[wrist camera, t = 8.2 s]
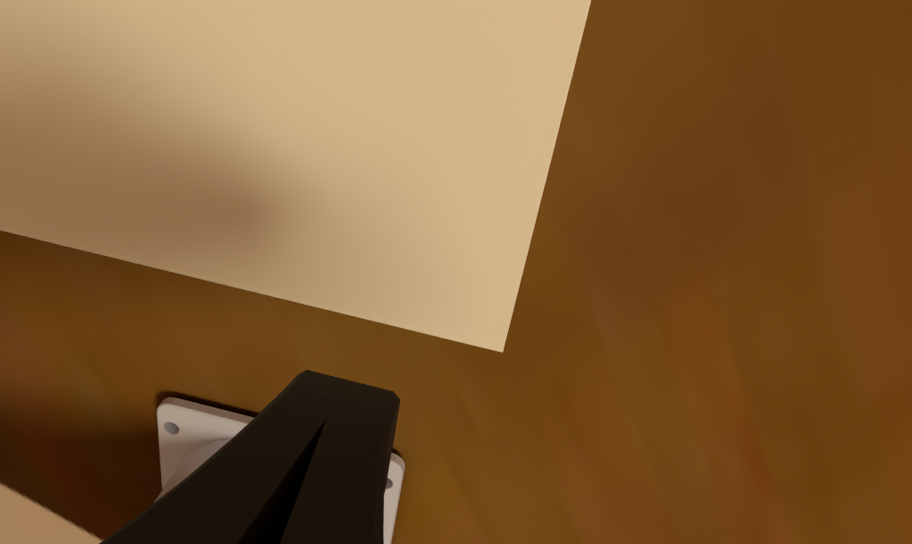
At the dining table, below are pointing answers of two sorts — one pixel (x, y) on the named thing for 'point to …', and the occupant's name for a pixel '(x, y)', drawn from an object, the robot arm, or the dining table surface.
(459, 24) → the board
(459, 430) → the dining table surface
